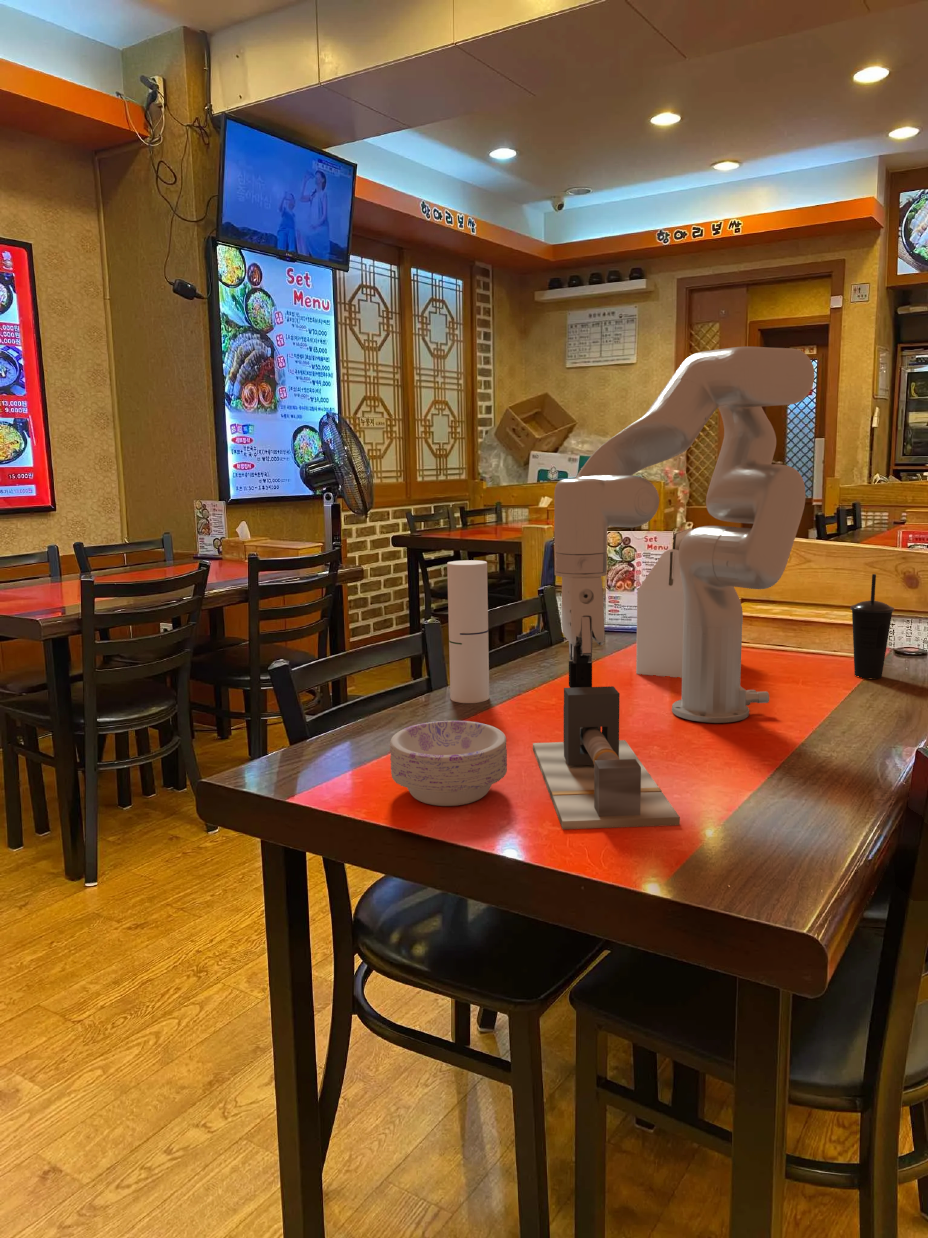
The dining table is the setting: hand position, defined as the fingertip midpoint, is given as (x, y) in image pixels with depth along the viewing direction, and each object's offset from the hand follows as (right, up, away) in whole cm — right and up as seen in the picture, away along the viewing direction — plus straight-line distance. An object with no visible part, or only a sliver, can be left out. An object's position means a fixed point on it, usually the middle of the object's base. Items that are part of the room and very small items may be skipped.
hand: (580, 687), depth 135 cm
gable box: (+28, 0, +55) cm, 62 cm away
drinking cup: (+61, -1, +43) cm, 75 cm away
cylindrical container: (-16, -5, +33) cm, 37 cm away
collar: (+1, -10, -7) cm, 12 cm away
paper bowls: (-19, -13, -15) cm, 27 cm away
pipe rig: (+1, -12, -12) cm, 17 cm away
